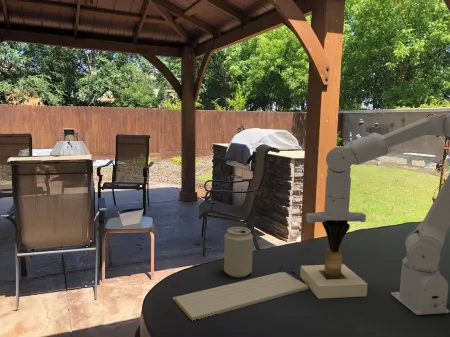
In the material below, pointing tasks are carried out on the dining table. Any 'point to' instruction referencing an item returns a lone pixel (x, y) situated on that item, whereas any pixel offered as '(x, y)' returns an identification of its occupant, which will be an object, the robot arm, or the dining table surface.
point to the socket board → (333, 282)
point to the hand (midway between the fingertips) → (333, 250)
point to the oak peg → (333, 264)
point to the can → (238, 252)
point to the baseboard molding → (238, 295)
